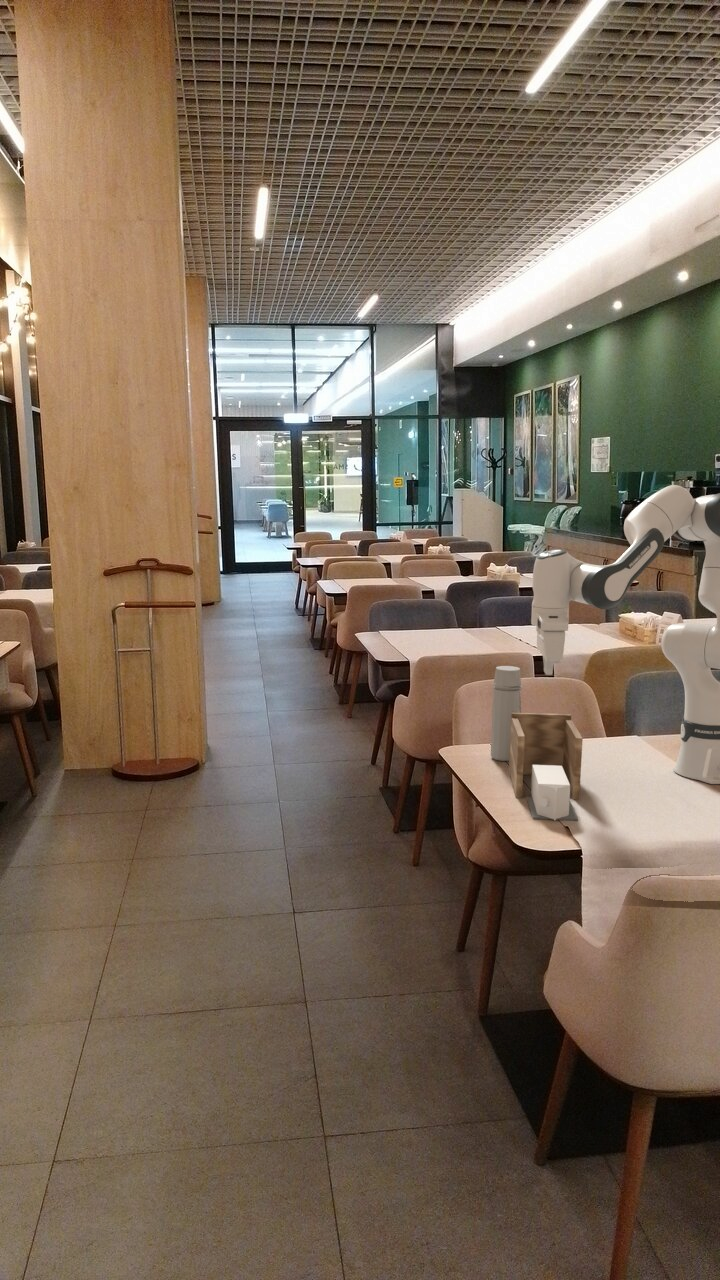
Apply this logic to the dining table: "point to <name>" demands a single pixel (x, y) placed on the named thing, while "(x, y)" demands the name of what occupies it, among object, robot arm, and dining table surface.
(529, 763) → the shelf bay
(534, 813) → the mat
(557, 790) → the milk carton
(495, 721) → the water bottle
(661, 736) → the dining table surface
